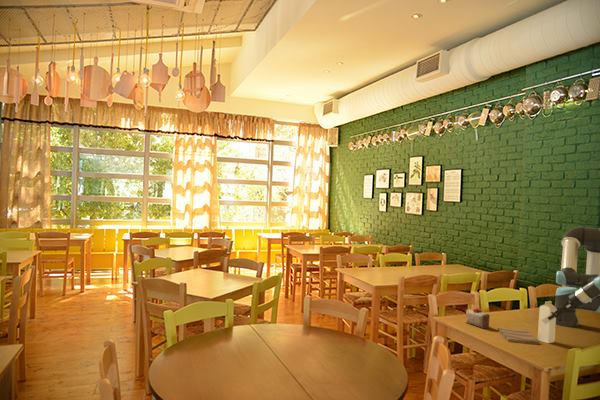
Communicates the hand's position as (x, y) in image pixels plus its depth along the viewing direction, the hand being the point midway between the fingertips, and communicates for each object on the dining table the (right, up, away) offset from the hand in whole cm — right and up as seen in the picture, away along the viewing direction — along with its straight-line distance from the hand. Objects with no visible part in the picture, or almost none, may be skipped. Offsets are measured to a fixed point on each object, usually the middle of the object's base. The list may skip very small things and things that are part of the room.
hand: (545, 319), depth 239 cm
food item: (-28, -10, +24) cm, 38 cm away
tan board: (-13, -11, +4) cm, 18 cm away
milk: (0, -12, 0) cm, 12 cm away
